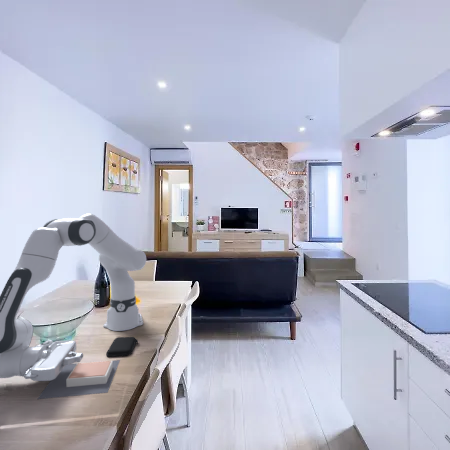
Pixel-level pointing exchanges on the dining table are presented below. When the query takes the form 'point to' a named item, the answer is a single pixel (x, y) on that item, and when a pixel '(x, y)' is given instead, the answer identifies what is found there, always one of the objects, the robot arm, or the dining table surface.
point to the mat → (61, 390)
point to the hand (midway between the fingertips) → (81, 357)
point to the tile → (90, 373)
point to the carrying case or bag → (122, 347)
